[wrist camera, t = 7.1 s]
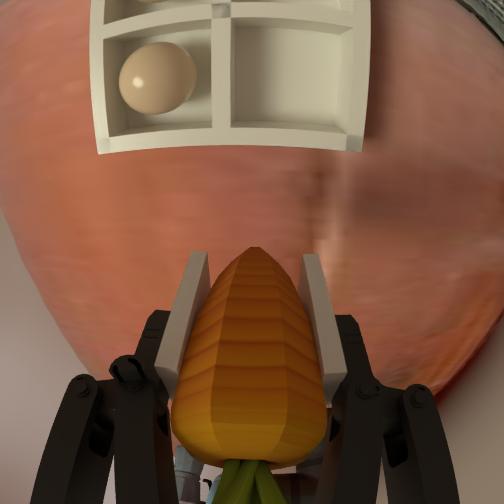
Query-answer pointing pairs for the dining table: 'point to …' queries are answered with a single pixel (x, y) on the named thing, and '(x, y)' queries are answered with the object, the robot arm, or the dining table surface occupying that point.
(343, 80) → the carton
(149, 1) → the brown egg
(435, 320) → the dining table surface
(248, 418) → the carrot
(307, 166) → the dining table surface
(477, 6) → the dish towel
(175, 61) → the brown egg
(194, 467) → the moka pot
